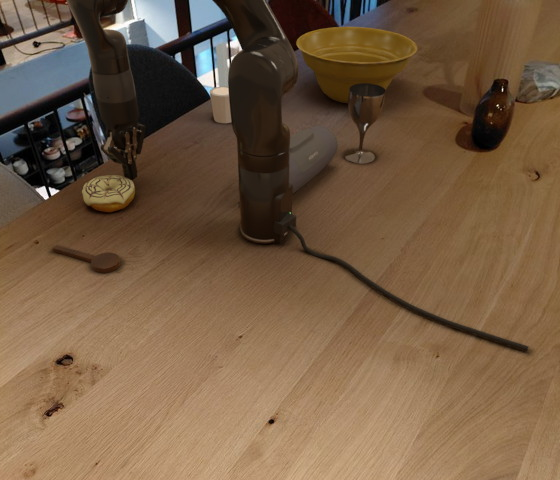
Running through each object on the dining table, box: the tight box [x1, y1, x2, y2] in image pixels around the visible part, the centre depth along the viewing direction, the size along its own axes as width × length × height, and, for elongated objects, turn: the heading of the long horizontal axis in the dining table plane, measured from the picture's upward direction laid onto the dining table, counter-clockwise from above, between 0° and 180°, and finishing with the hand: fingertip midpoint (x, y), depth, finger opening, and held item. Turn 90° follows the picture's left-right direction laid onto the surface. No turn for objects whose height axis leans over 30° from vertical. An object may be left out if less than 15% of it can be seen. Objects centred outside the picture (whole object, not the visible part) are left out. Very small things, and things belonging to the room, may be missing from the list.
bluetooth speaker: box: [289, 124, 339, 194], centre depth 122 cm, size 23×9×10 cm, turn 149°
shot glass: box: [209, 86, 232, 124], centre depth 146 cm, size 7×7×7 cm
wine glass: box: [344, 83, 387, 164], centre depth 129 cm, size 8×8×15 cm
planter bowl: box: [295, 26, 418, 104], centre depth 157 cm, size 32×32×13 cm
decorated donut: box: [81, 174, 136, 213], centre depth 118 cm, size 10×11×4 cm
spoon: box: [52, 244, 121, 274], centre depth 104 cm, size 14×5×1 cm, turn 67°
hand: (131, 178), depth 122 cm, fingers closed
